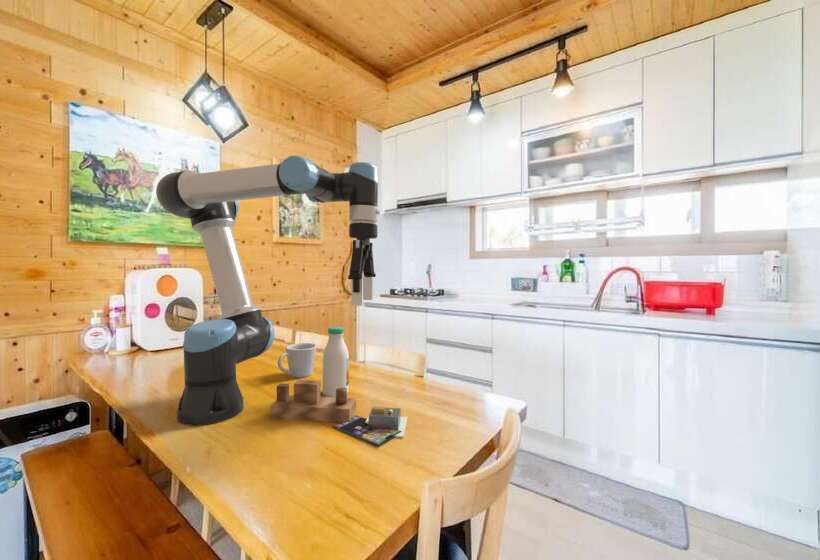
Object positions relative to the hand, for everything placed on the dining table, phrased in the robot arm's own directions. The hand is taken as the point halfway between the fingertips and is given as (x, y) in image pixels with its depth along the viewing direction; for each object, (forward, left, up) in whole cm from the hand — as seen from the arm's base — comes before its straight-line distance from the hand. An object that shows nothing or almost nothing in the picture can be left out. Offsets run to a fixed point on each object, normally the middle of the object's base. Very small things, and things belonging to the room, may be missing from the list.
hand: (362, 302), depth 96 cm
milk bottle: (-10, +9, -29) cm, 32 cm away
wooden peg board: (-11, -7, -29) cm, 31 cm away
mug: (-28, +23, -29) cm, 46 cm away
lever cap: (+8, -11, -28) cm, 31 cm away
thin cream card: (+8, -11, -29) cm, 32 cm away
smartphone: (+4, -13, -29) cm, 33 cm away
